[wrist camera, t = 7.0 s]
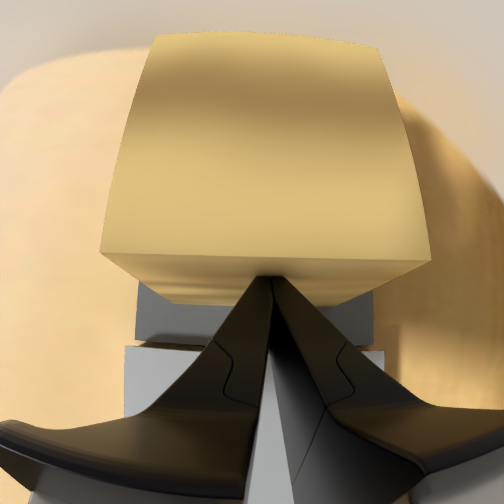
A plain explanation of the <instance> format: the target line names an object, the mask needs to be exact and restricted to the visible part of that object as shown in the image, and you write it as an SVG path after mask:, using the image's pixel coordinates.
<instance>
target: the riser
mask: <svg viewBox="0 0 504 504" xmlns="http://www.w3.org/2000/svg"><path fill="white" fill-rule="evenodd" d="M201 352H202V351H194V350H179V349H166V348H154V347H144V346H125V363H124V418H126V417H130V416H133V415H136V414H138V413H140V412H141V411H143V410H145V409H146V408H147V407H149V406H150V405H151V404H152V403H153V402H154V401H155V400H156V399H157V398H158V397H159V396H160V395H161V394H162V393H163V392H164V391H165V390H166V389H167V388H168V387H169V386H170V385H172V384H173V383H174V382H175V381H176V380H177V379H178V378H179V377H180V376H181V375H182V374H183V372H184V371H185V370H186V369H187V368H188V367H189V366H190V365H191V364H192V363H193V362H194V361H195V359H196V358H197V357H198V356H199V354H200V353H201ZM361 352H362V353H363V354H364V355H365V356H366V357H368V358H369V359H370V360H371V361H372V362H373V363H375V364H376V365H377V366H378V367H379V368H381V369H382V370H383V371H384V355H385V351H361ZM247 504H294V499H293V493H292V486H291V481H290V475H289V469H288V463H287V457H286V451H285V445H284V439H283V433H282V427H281V421H280V415H279V409H278V403H277V397H276V391H275V385H274V379H273V373H272V366H271V360H270V354H269V353H268V360H267V368H266V376H265V384H264V391H263V399H262V407H261V414H260V421H259V429H258V436H257V443H256V450H255V457H254V464H253V471H252V477H251V484H250V491H249V497H248V503H247Z"/></svg>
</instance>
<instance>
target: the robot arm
mask: <svg viewBox="0 0 504 504" xmlns="http://www.w3.org/2000/svg"><path fill="white" fill-rule="evenodd" d="M268 351H269V354H270V360H271V366H272V373H273V379H274V385H275V391H276V397H277V403H278V409H279V415H280V421H281V427H282V433H283V439H284V445H285V451H286V457H287V463H288V469H289V475H290V481H291V486H292V493H293V499H294V504H504V410H490V409H467V408H452V407H440V406H435V405H431V404H429V403H426V402H425V401H423V400H421V399H419V398H418V397H417V396H415V395H414V394H413V393H411V392H410V391H409V390H407V389H406V388H405V387H404V386H402V385H401V384H400V383H398V382H397V381H396V380H395V379H393V378H392V377H391V376H389V375H388V374H387V373H386V372H384V371H383V370H382V369H381V368H379V367H378V366H377V365H376V364H375V363H373V362H372V361H371V360H370V359H369V358H368V357H366V356H365V355H364V354H363V353H362V352H361V351H360V350H359V349H358V348H357V347H356V346H355V345H354V344H353V343H352V342H351V341H350V340H348V339H347V338H346V337H345V336H344V335H343V334H342V333H341V332H340V331H339V330H338V329H337V328H336V327H335V326H334V325H333V324H332V323H331V322H330V321H329V320H328V319H327V318H326V317H325V316H324V315H323V314H322V313H321V312H320V311H319V310H318V309H317V308H316V307H315V306H314V305H313V304H312V303H311V302H310V301H309V300H308V299H307V298H306V297H305V296H304V295H303V294H302V293H301V292H300V291H299V290H298V289H297V288H295V287H294V286H293V285H292V284H291V283H290V282H289V281H288V280H287V279H286V278H285V277H274V276H273V277H271V278H270V277H268V276H256V277H255V278H254V279H253V280H252V282H251V283H250V285H249V286H248V288H247V289H246V290H245V292H244V293H243V295H242V296H241V297H240V299H239V300H238V302H237V303H236V305H235V306H234V307H233V309H232V310H231V312H230V313H229V314H228V316H227V317H226V319H225V320H224V322H223V323H222V324H221V326H220V327H219V329H218V330H217V331H216V333H215V334H214V336H213V337H212V338H211V340H210V341H209V342H208V344H207V345H206V347H205V348H204V349H203V351H202V352H201V353H200V354H199V356H198V357H197V358H196V359H195V361H194V362H193V363H192V364H191V365H190V366H189V367H188V368H187V369H186V370H185V371H184V372H183V374H182V375H181V376H180V377H179V378H178V379H177V380H176V381H175V382H174V383H173V384H172V385H170V386H169V387H168V388H167V389H166V390H165V391H164V392H163V393H162V394H161V395H160V396H159V397H158V398H157V399H156V400H155V401H154V402H153V403H152V404H151V405H150V406H149V407H147V408H146V409H145V410H143V411H141V412H140V413H138V414H136V415H133V416H130V417H126V418H121V419H117V420H113V421H108V422H103V423H99V424H94V425H89V426H83V427H78V428H72V429H64V430H52V429H44V428H40V427H36V426H33V425H30V424H27V423H24V422H21V421H17V420H6V421H2V422H0V467H1V468H2V469H3V470H4V471H6V472H7V473H8V474H9V475H10V476H12V477H13V478H14V479H15V480H16V481H18V482H19V483H20V484H21V485H23V486H24V487H25V488H27V489H28V490H29V491H31V495H30V498H29V502H28V504H247V503H248V497H249V491H250V484H251V477H252V471H253V464H254V457H255V450H256V443H257V436H258V429H259V421H260V414H261V407H262V399H263V391H264V384H265V376H266V368H267V360H268Z"/></svg>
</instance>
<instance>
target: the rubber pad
mask: <svg viewBox="0 0 504 504" xmlns="http://www.w3.org/2000/svg"><path fill="white" fill-rule="evenodd" d="M233 307H234V306H219V305H192V304H173V303H171V302H170V301H168V300H167V299H165V298H164V297H162V296H161V295H159V294H158V293H156V292H155V291H153V290H152V289H150V288H149V287H147V286H146V285H145V284H143V283H142V282H140V281H139V287H138V299H137V312H136V328H135V340H141V341H152V342H164V343H177V344H192V345H207V344H208V342H209V341H210V340H211V338H212V337H213V336H214V334H215V333H216V331H217V330H218V329H219V327H220V326H221V324H222V323H223V322H224V320H225V319H226V317H227V316H228V314H229V313H230V312H231V310H232V309H233ZM316 308H317V309H318V310H319V311H320V312H321V313H322V314H323V315H324V316H325V317H326V318H327V319H328V320H329V321H330V322H331V323H332V324H333V325H334V326H335V327H336V328H337V329H338V330H339V331H340V332H341V333H342V334H343V335H344V336H345V337H346V338H347V339H348V340H350V341H351V342H352V343H353V344H354V345H355V346H361V345H373V304H372V290H370V291H368V292H366V293H364V294H361V295H359V296H357V297H355V298H353V299H350V300H348V301H346V302H344V303H341V304H339V305H337V306H335V307H316Z"/></svg>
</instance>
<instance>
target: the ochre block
mask: <svg viewBox="0 0 504 504" xmlns="http://www.w3.org/2000/svg"><path fill="white" fill-rule="evenodd" d="M100 253H101V254H102V255H104V256H105V257H106V258H108V259H109V260H111V261H112V262H113V263H115V264H116V265H117V266H119V267H120V268H122V269H123V270H124V271H126V272H127V273H129V274H130V275H132V276H133V277H134V278H136V279H137V280H139V281H140V282H142V283H143V284H145V285H146V286H147V287H149V288H150V289H152V290H153V291H155V292H156V293H158V294H159V295H161V296H162V297H164V298H165V299H167V300H168V301H170V302H171V303H173V304H192V305H219V306H235V305H236V303H237V302H238V300H239V299H240V297H241V296H242V295H243V293H244V292H245V290H246V289H247V288H248V286H249V285H250V283H251V282H252V280H253V279H254V278H255V277H256V276H268V277H270V278H271V277H273V276H274V277H285V278H286V279H287V280H288V281H289V282H290V283H291V284H292V285H293V286H294V287H295V288H297V289H298V290H299V291H300V292H301V293H302V294H303V295H304V296H305V297H306V298H307V299H308V300H309V301H310V302H311V303H312V304H313V305H314V306H315V307H335V306H337V305H339V304H341V303H344V302H346V301H348V300H350V299H353V298H355V297H357V296H359V295H361V294H364V293H366V292H368V291H370V290H372V289H374V288H377V287H379V286H381V285H383V284H385V283H387V282H389V281H391V280H393V279H396V278H398V277H400V276H402V275H404V274H406V273H408V272H410V271H412V270H414V269H416V268H418V267H420V266H422V265H424V264H426V263H428V262H430V261H432V260H431V252H430V245H429V238H428V231H427V225H426V219H425V213H424V208H423V202H422V197H421V192H420V187H419V183H418V178H417V174H416V169H415V165H414V161H413V157H412V153H411V149H410V145H409V141H408V138H407V134H406V130H405V127H404V123H403V120H402V117H401V113H400V110H399V107H398V104H397V101H396V98H395V95H394V92H393V89H392V86H391V83H390V80H389V77H388V75H387V72H386V69H385V67H384V64H383V62H382V59H381V56H380V54H379V51H378V49H377V48H374V47H369V46H365V45H359V44H354V43H348V42H343V41H337V40H330V39H323V38H316V37H307V36H297V35H287V34H274V33H256V32H197V33H180V34H167V35H156V36H155V39H154V42H153V44H152V47H151V49H150V52H149V55H148V57H147V60H146V63H145V66H144V69H143V71H142V74H141V77H140V80H139V83H138V86H137V89H136V93H135V96H134V99H133V102H132V105H131V109H130V112H129V116H128V119H127V123H126V126H125V130H124V134H123V137H122V141H121V145H120V149H119V153H118V157H117V161H116V166H115V170H114V175H113V179H112V184H111V189H110V194H109V199H108V204H107V209H106V215H105V221H104V226H103V233H102V239H101V246H100Z"/></svg>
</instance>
